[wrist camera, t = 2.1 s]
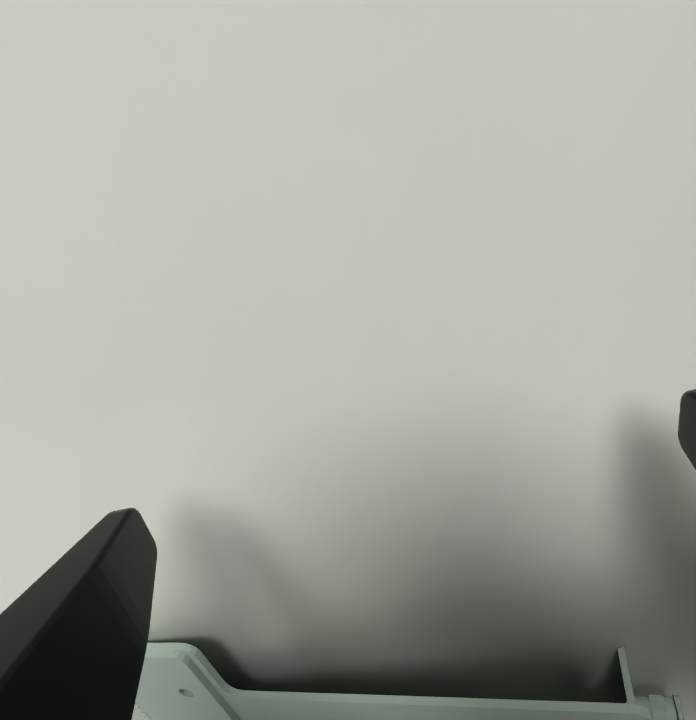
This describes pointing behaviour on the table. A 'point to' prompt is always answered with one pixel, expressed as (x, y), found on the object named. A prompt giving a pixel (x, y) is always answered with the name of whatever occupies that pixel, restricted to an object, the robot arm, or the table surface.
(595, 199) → the table surface
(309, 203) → the table surface
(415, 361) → the table surface
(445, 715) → the metal bracket
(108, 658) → the robot arm
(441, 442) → the table surface
